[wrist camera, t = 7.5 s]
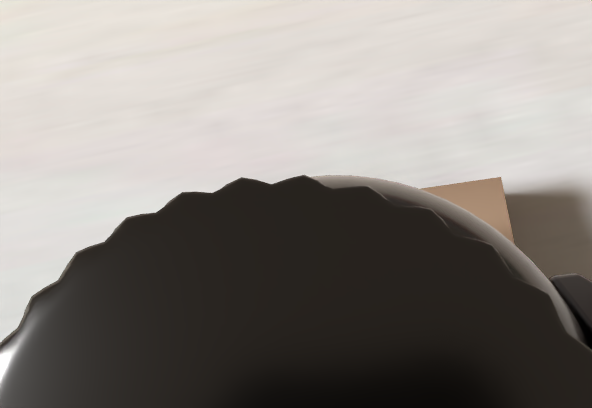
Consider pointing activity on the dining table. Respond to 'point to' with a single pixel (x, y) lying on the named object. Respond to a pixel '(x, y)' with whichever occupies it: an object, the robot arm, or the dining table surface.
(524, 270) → the supplement bottle
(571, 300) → the robot arm
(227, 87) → the dining table surface
